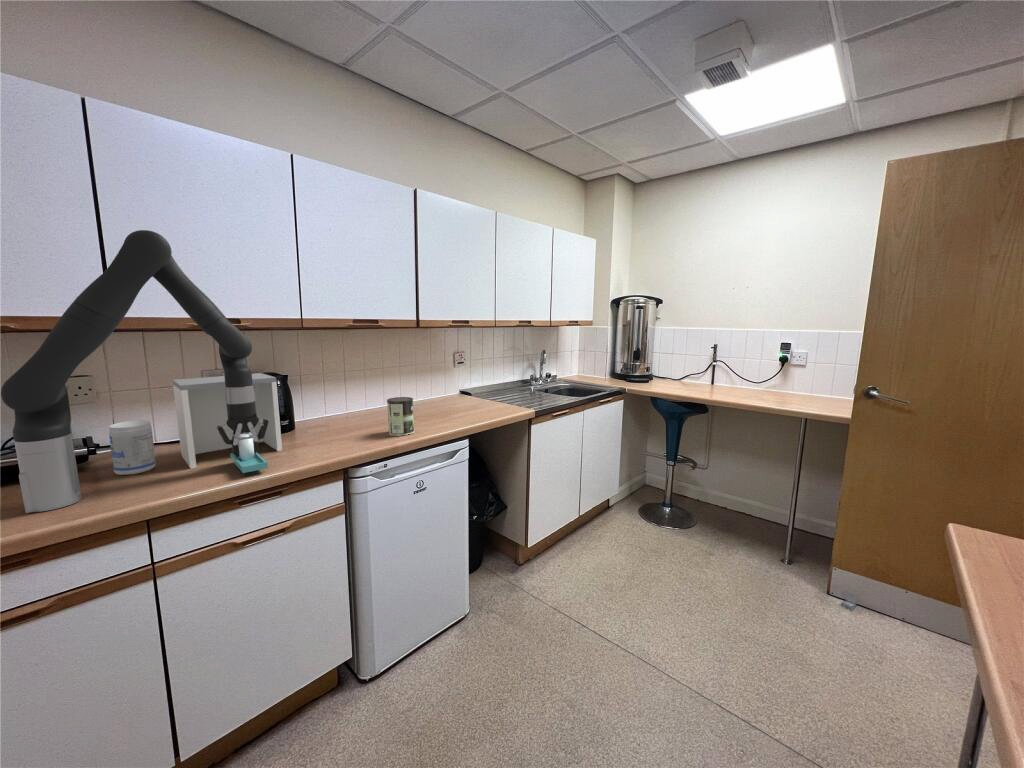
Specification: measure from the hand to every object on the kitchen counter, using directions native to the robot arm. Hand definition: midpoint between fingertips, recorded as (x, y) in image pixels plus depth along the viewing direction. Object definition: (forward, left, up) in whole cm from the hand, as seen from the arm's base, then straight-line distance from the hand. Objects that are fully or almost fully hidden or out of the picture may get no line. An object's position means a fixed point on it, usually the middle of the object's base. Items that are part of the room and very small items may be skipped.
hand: (246, 454), depth 130 cm
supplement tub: (-25, +20, -4) cm, 32 cm away
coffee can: (+55, +1, -4) cm, 55 cm away
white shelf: (0, +19, -4) cm, 19 cm away
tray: (0, -2, -2) cm, 3 cm away
